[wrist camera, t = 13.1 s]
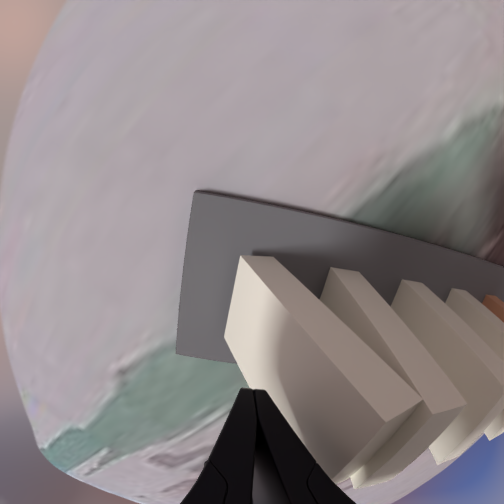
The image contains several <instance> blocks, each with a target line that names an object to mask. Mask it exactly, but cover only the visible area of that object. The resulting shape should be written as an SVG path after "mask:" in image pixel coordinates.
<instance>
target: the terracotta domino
mask: <svg viewBox="0 0 504 504" xmlns="http://www.w3.org/2000/svg"><path fill="white" fill-rule="evenodd" d="M482 304H483V305H484V306H485V307H486V308H488V309H489V310H490V311H491V312H492V313H493V314H495V315H496V316H497V317H498V318H499V319H500V320H501V321H502V322H504V302H503V301H501V300H500V299H499V298H498V297H496V296H493V295H485V298H484V300H483V302H482Z"/></svg>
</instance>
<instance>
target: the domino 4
mask: <svg viewBox="0 0 504 504" xmlns="http://www.w3.org/2000/svg"><path fill="white" fill-rule="evenodd" d="M445 304H446V305H447V306H449V307H450V308H451V309H452V310H453V311H454V312H455V313H456V314H457V315H458V316H459V317H460V318H461V319H462V320H463V321H464V322H465V323H466V324H467V325H468V326H469V327H470V328H471V329H472V330H473V331H474V332H475V333H476V334H477V335H478V336H479V337H480V338H481V339H482V340H483V341H484V342H485V343H486V344H487V345H488V346H489V347H490V348H491V349H492V350H493V351H494V352H495V353H496V354H497V355H498V356H499V358H500V359H501V360H502V361H503V362H504V322H502V321H501V320H500V319H499V318H498V317H497V316H496V315H495V314H493V313H492V312H491V311H490V310H489V309H488V308H486V307H485V306H484V305H483V304H482V303H480V302H479V301H478V300H477V299H476V298H474V297H473V296H472V295H471V294H470V293H468V292H467V291H466V290H460V289H455V288H452V289H451V291H450V293H449V296H448V298H447V300H446V302H445ZM503 432H504V409H503V410H502V411H501V413H500V414H499V415H498V416H497V417H496V418H495V420H494V421H493V422H492V423H491V424H490V425H489V426H488V427H487V429H486V430H485V431H484V433H485V434H486V436H487V437H488V439H489V440H491V439H493V438H495V437H497V436H498V435H500V434H502V433H503Z"/></svg>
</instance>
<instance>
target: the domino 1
mask: <svg viewBox="0 0 504 504" xmlns="http://www.w3.org/2000/svg"><path fill="white" fill-rule="evenodd" d="M224 338H225V340H226V342H227V344H228V346H229V348H230V350H231V352H232V354H233V356H234V358H235V360H236V362H237V364H238V366H239V368H240V370H241V372H242V374H243V376H244V377H245V379H246V381H247V383H248V385H249V387H250V388H251V389H264V390H266V391H267V393H268V394H269V396H270V397H271V399H272V400H273V401H274V403H275V404H276V406H277V407H278V409H279V410H280V412H281V413H282V415H283V416H284V417H285V419H286V420H287V422H288V423H289V425H290V426H291V427H292V429H293V430H294V432H295V433H296V434H297V436H298V437H299V438H300V440H301V441H302V443H303V444H304V445H305V447H306V448H307V449H308V451H309V452H310V453H311V455H312V456H313V457H314V459H315V460H316V463H318V464H319V465H320V466H321V468H322V469H323V470H324V472H325V473H326V474H327V475H328V476H329V478H330V479H331V480H332V481H333V482H334V483H335V484H338V483H340V482H342V481H344V480H346V479H348V478H350V477H351V476H352V475H354V474H355V473H356V472H357V471H358V470H359V469H360V468H361V467H362V466H363V465H364V464H366V463H367V462H368V461H369V460H370V459H371V458H372V457H373V456H374V455H375V454H376V453H377V452H378V451H379V450H380V449H381V448H382V447H383V446H384V445H385V444H386V443H387V441H388V440H389V439H390V438H391V437H392V436H393V435H394V434H395V433H396V432H397V430H398V429H399V428H400V427H401V426H402V425H403V424H404V422H405V421H406V420H407V419H408V418H409V416H410V415H411V414H412V413H413V412H414V410H415V409H416V408H417V407H418V405H419V404H420V403H421V401H422V400H423V398H422V397H421V396H420V395H419V394H417V393H416V392H415V391H414V390H413V389H412V388H411V387H410V386H409V385H408V384H407V383H406V382H405V381H404V380H403V379H402V378H401V377H400V376H399V375H398V374H397V373H396V372H395V371H394V370H393V369H392V368H391V367H390V366H389V365H387V364H386V363H385V362H384V361H383V360H382V359H381V358H380V357H379V356H378V355H377V354H376V353H375V352H374V351H373V350H372V349H371V348H370V347H369V346H368V345H367V344H366V343H364V342H363V341H362V340H361V339H360V338H359V337H358V336H357V335H356V334H355V333H354V332H353V331H352V330H351V329H350V328H349V327H348V326H347V325H346V324H344V323H343V322H342V321H341V320H340V319H339V318H338V317H337V316H336V315H335V314H334V313H333V312H332V311H331V310H330V309H329V308H328V307H327V306H325V305H324V304H323V303H322V302H321V301H320V300H319V299H318V298H317V297H316V296H315V295H314V294H313V293H312V292H311V291H309V290H308V289H307V288H306V287H305V286H304V285H303V284H302V283H301V282H300V281H299V280H298V279H297V278H296V277H295V276H293V275H292V274H291V273H290V272H289V271H288V270H287V269H286V268H285V267H284V266H283V265H282V264H281V263H279V262H278V261H277V260H276V259H275V258H274V257H271V256H246V255H240V259H239V264H238V269H237V274H236V279H235V284H234V289H233V294H232V299H231V304H230V309H229V314H228V319H227V324H226V329H225V334H224Z"/></svg>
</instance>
